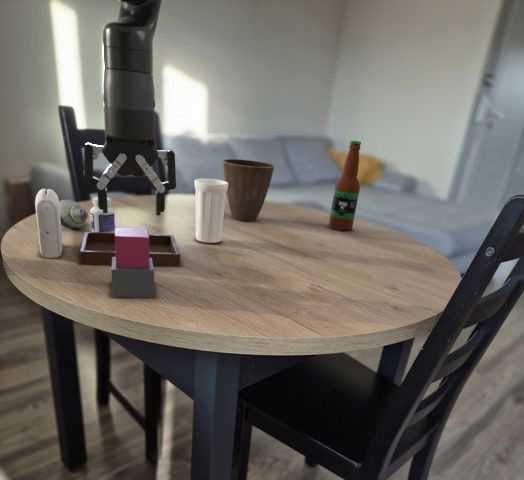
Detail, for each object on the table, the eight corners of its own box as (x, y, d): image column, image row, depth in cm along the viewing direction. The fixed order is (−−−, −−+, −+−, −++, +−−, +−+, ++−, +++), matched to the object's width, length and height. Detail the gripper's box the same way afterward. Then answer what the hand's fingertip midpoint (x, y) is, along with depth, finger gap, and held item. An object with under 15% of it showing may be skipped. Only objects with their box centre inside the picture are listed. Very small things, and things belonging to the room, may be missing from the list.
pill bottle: (119, 236, 116) (118, 198, 112) (108, 241, 111) (106, 202, 107) (99, 232, 117) (97, 194, 112) (87, 237, 112) (85, 198, 108)
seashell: (79, 226, 125) (83, 239, 115) (49, 214, 121) (51, 225, 111) (88, 204, 123) (93, 214, 114) (58, 190, 119) (61, 200, 110)
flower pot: (209, 214, 147) (212, 158, 139) (247, 211, 156) (252, 159, 149) (239, 226, 137) (244, 167, 130) (278, 222, 146) (284, 167, 139)
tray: (80, 264, 96) (79, 251, 94) (85, 243, 108) (84, 231, 107) (179, 266, 101) (180, 254, 100) (173, 246, 113) (173, 235, 112)
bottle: (324, 228, 147) (339, 139, 135) (332, 224, 153) (347, 139, 141) (347, 233, 144) (364, 143, 133) (354, 228, 150) (371, 142, 139)
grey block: (112, 297, 83) (111, 269, 81) (112, 282, 89) (111, 256, 86) (153, 297, 85) (153, 270, 82) (151, 283, 91) (151, 257, 88)
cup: (190, 235, 123) (193, 177, 117) (222, 237, 125) (226, 179, 118) (193, 244, 116) (195, 183, 110) (226, 246, 118) (231, 185, 111)
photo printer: (62, 258, 98) (57, 195, 92) (39, 258, 96) (32, 194, 90) (63, 243, 106) (58, 185, 100) (41, 243, 104) (35, 184, 99)
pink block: (116, 268, 81) (114, 236, 79) (116, 258, 86) (115, 227, 84) (149, 268, 83) (149, 237, 80) (147, 258, 88) (147, 228, 85)
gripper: (174, 109, 78) (172, 210, 86) (81, 99, 74) (88, 206, 82) (179, 111, 72) (177, 220, 79) (77, 101, 68) (85, 217, 75)
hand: (132, 213), depth 81 cm, fingers open, 8 cm apart
